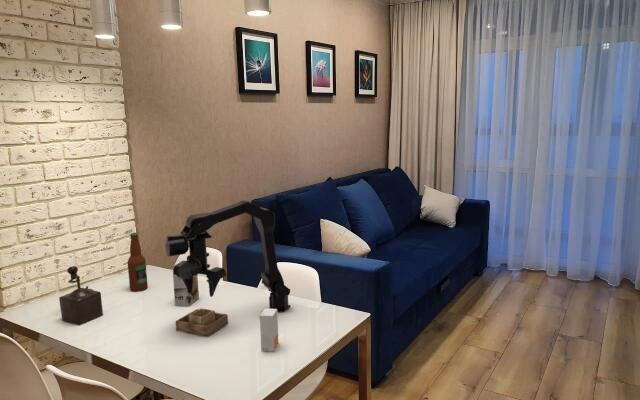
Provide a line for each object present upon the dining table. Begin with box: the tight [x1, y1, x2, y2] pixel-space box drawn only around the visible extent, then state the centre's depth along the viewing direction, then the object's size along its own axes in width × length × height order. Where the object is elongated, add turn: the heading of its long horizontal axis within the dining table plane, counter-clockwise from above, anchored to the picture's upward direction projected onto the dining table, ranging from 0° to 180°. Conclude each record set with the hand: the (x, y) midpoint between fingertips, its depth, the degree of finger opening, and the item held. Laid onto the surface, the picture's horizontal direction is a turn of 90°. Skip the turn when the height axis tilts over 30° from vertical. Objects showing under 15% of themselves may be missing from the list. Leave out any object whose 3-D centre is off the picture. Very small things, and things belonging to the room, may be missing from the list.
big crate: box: [175, 308, 229, 338], centre depth 170 cm, size 14×12×4 cm
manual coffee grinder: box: [58, 265, 104, 326], centre depth 181 cm, size 16×11×18 cm
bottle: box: [127, 232, 149, 293], centre depth 208 cm, size 7×7×25 cm
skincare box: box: [259, 307, 279, 353], centre depth 153 cm, size 6×4×12 cm
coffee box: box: [172, 260, 200, 307], centre depth 193 cm, size 9×6×16 cm
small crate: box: [188, 307, 216, 326], centre depth 170 cm, size 6×7×4 cm
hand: (200, 294), depth 169 cm, fingers open, 9 cm apart
